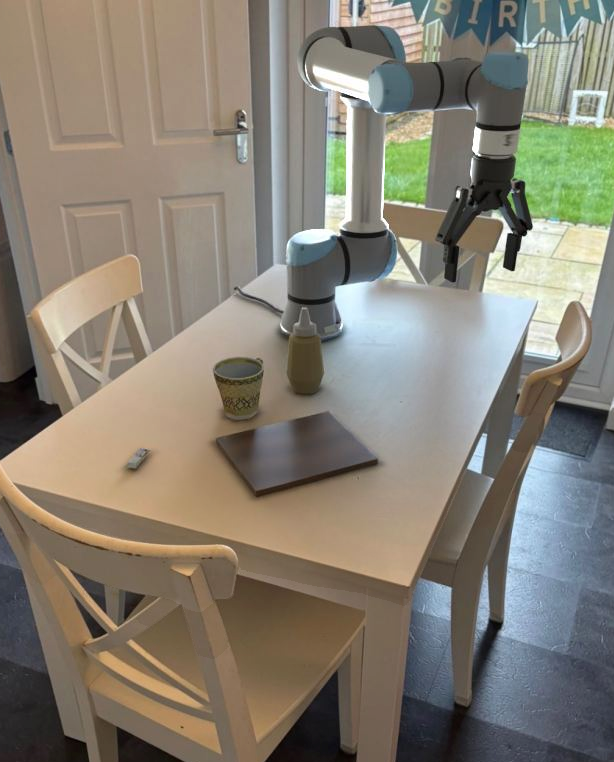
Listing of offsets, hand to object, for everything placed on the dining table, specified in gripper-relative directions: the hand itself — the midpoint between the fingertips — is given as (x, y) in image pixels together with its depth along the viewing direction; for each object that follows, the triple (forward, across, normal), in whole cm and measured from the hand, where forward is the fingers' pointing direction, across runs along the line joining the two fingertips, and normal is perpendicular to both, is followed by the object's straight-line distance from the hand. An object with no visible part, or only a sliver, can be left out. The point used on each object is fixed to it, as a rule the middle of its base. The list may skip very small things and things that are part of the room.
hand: (479, 274), depth 147 cm
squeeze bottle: (+28, -26, +21) cm, 43 cm away
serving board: (+27, -40, -2) cm, 48 cm away
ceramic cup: (+28, -42, +18) cm, 53 cm away
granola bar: (+27, -67, +8) cm, 73 cm away
